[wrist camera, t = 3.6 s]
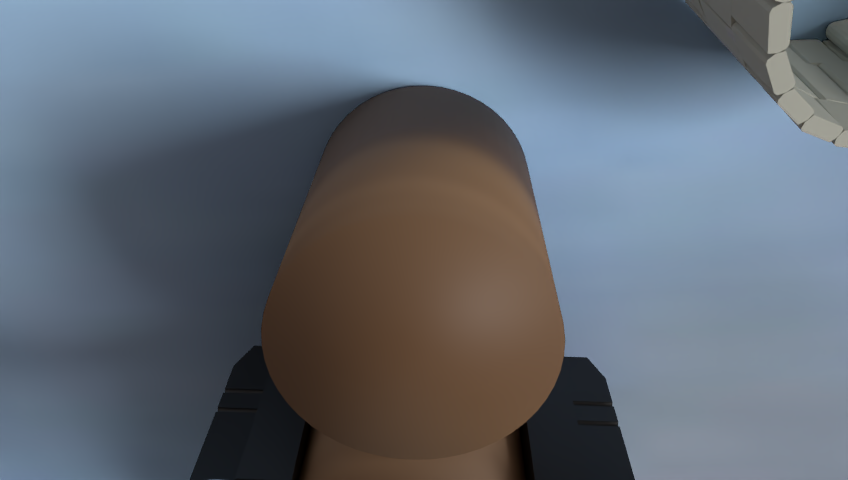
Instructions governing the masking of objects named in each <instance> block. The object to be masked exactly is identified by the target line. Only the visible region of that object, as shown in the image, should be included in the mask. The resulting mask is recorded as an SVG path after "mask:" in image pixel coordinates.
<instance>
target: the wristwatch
mask: <svg viewBox="0 0 848 480" xmlns="http://www.w3.org/2000/svg"><path fill="white" fill-rule="evenodd" d="M790 1H792V0H685V2H686V3H687V4H688V5H689V7H690V8H691V9H692V10H693V11H694V12H695V13H696V14H697V16H698V17H699V18H700V19H701V20H702V21H703V22H704V23H705V24H706V26H707V27H708V28H709V29H710V30H711V31H712V32H713V33H714V34H715V36H716V37H717V38H718V39H719V40H720V41H721V42H722V43H723V44H724V45H725V47H726V48H728V49H729V51H730V52H731V53H732V54H733V56H734V57H735V58H736V59H737V60H738V61H739V62H740V63H741V64H742V65H743V67H744V68H745V69H746V70H747V71H748V72H749V73H750V74H751V75H752V76H753V77H754V78H755V79H756V81H757V82H758V83H759V84H760V85H761V86H762V87H763V89H764V90H765V91H766V92H767V93H768V94H769V95H770V96H771V97H772V99H773V100H774V101H775V102H776V103H777V104H778V105H779V106H780V107H781V108H782V109H783V110H784V112H785V113H786V114H787V115H788V116H789V117H790V118H791V119H792V120H793V122H794V123H795V124H796V125H797V126H798V127H799V128H800V129H801V131H803V132H805V133H808V134H810V135H813V136H815V137H818V138H820V139H823V140H825V141H828V142H831V141H832V143H833V144H834V145H835V146H837V147H846V148H848V19H846V20H841V21H836V22H832V23H831V24H829V25H828V27H827V29H826V37H827V38H828V39H830V40H825V41H823V42H821V41H820V40H818V39H810V40H790V35H791V25H792V15H793V4H792V3H791V2H790Z"/></svg>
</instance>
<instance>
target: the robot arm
mask: <svg viewBox="0 0 848 480" xmlns="http://www.w3.org/2000/svg"><path fill="white" fill-rule="evenodd" d="M310 427H311V425H310V424H309V423H307V422H306V421H305V420H304V419H303V418H301V417H300V416H299V415H298V414H297V413H296V412H295V411H294V410H293V409H292V408H291V407H290V405H289V404H288V403H287V402H286V401H285V399H284V398H283V397H282V395H281V394H280V392H279V391H278V390H277V388H276V386H275V384H274V382H273V380H272V378H271V376H270V374H269V371H268V368H267V366H266V363H265V360H264V354H263V349H262V346H254V347H253V348H252V349H250V350H249V351H248V352H247V353H246V354H245V355H244V356H243V357H242V358H241V359H240V360H239V361H238V362H237V363H236V364H235V365H234V367H233V369H232V372H231V375H230V377H229V380H228V382H227V385H226V387H225V393H223V395H222V398H221V400H220V403H219V405H218V412H216V413H215V416H214V418H213V421H212V424H211V426H210V429H209V431H208V434H207V436H206V439H205V442H204V444H203V447H202V449H201V452H200V455H199V457H198V460H197V462H196V465H195V467H194V470H193V473H192V475H191V478H190V480H299V476H300V472H301V467H302V463H303V459H304V454H305V450H306V445H307V441H308V436H309V432H310ZM520 434H521V442H522V450H523V459H524V467H525V475H526V480H635V478H634V475H633V472H632V468H631V465H630V461H629V458H628V454H627V451H626V447H625V444H624V441H623V437H622V434H621V430H620V427H618V420H617V416H616V413H615V409H614V407H612V399H611V396H610V392H609V389H608V385H607V382H606V378H605V377H604V376H603V375H602V374H601V373H600V372H599V371H598V369H597V368H596V367H595V366H594V365H593V364H592V363H591V362H590V360H589V359H588V358H584V357H564V358H563V362H562V366H561V371H560V373H559V376H558V378H557V381H556V383H555V386H554V387H553V389H552V391H551V392H550V394H549V396H548V398H547V399H546V401H545V402H544V403H543V404H542V406H541V407H540V408H539V409H538V411H537V412H536V413H535V414H534V415H533V416H532V417H531V418H530V419H528V420H527V421H526V422H525V423H524V424H523V425H522V426H520Z"/></svg>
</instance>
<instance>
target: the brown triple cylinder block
mask: <svg viewBox="0 0 848 480" xmlns="http://www.w3.org/2000/svg"><path fill="white" fill-rule="evenodd" d="M261 339H262V349H263V354H264V360H265V363H266V366H267V368H268V371H269V374H270V376H271V378H272V380H273V382H274V384H275V386H276V388H277V390H278V391H279V392H280V394H281V395H282V397H283V398H284V399H285V401H286V402H287V403H288V404H289V405H290V407H291V408H292V409H293V410H294V411H295V412H296V413H297V414H298V415H299V416H300V417H301V418H303V419H304V420H305V421H306V422H307V423H309V424H310V425H311V427H310V432H309V436H308V441H307V445H306V450H305V454H304V459H303V463H302V467H301V472H300V476H299V480H526V475H525V467H524V459H523V450H522V442H521V434H520V426H522V425H523V424H524V423H525V422H526V421H527V420H528V419H530V418H531V417H532V416H533V415H534V414H535V413H536V412H537V411H538V409H539V408H540V407H541V406H542V404H543V403H544V402H545V401H546V399H547V398H548V396H549V394H550V392H551V391H552V389H553V387H554V386H555V383H556V381H557V378H558V376H559V373H560V371H561V366H562V362H563V358H564V348H565V334H564V324H563V319H562V315H561V311H560V306H559V302H558V297H557V293H556V289H555V284H554V280H553V276H552V271H551V267H550V263H549V258H548V254H547V250H546V245H545V241H544V236H543V232H542V228H541V223H540V219H539V215H538V210H537V206H536V202H535V197H534V193H533V189H532V184H531V180H530V175H529V171H528V167H527V163H526V159H525V155H524V152H523V150H522V148H521V145H520V143H519V141H518V139H517V138H516V136H515V134H514V133H513V131H512V130H511V129H510V127H509V126H508V125H507V124H506V122H505V121H504V120H503V119H502V118H501V117H500V116H499V115H498V114H497V113H495V112H494V111H493V110H492V109H491V108H489V107H488V106H486V105H485V104H483V103H482V102H480V101H478V100H476V99H474V98H473V97H471V96H469V95H466V94H463V93H461V92H458V91H455V90H451V89H446V88H442V87H433V86H411V87H405V88H398V89H394V90H391V91H388V92H384V93H382V94H380V95H377V96H375V97H373V98H371V99H369V100H367V101H366V102H364V103H362V104H361V105H359V106H358V107H357V108H355V109H354V110H353V111H352V112H351V113H349V114H348V115H347V116H346V117H345V118H344V119H343V121H342V122H341V123H340V124H339V125H338V126H337V128H336V129H335V131H334V132H333V134H332V135H331V137H330V139H329V141H328V143H327V145H326V147H325V150H324V153H323V155H322V158H321V160H320V163H319V166H318V168H317V171H316V173H315V176H314V179H313V181H312V184H311V187H310V189H309V192H308V194H307V197H306V200H305V202H304V205H303V207H302V210H301V213H300V215H299V218H298V221H297V223H296V226H295V228H294V231H293V234H292V236H291V239H290V242H289V244H288V247H287V249H286V252H285V255H284V257H283V260H282V262H281V265H280V268H279V270H278V273H277V276H276V278H275V281H274V283H273V286H272V289H271V291H270V294H269V296H268V300H267V303H266V306H265V309H264V312H263V319H262V327H261Z"/></svg>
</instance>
